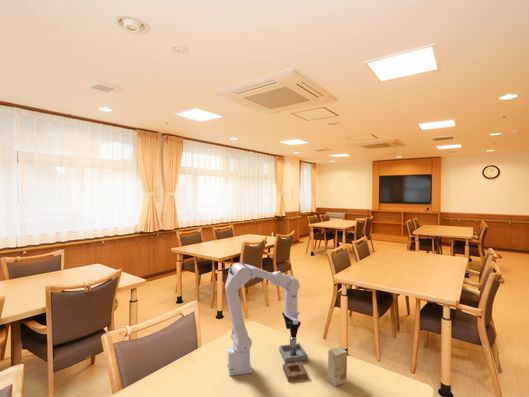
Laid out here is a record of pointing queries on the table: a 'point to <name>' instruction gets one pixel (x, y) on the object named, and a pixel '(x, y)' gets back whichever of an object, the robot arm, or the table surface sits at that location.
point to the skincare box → (337, 366)
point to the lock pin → (292, 346)
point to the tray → (299, 356)
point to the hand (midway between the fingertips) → (291, 332)
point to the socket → (296, 375)
